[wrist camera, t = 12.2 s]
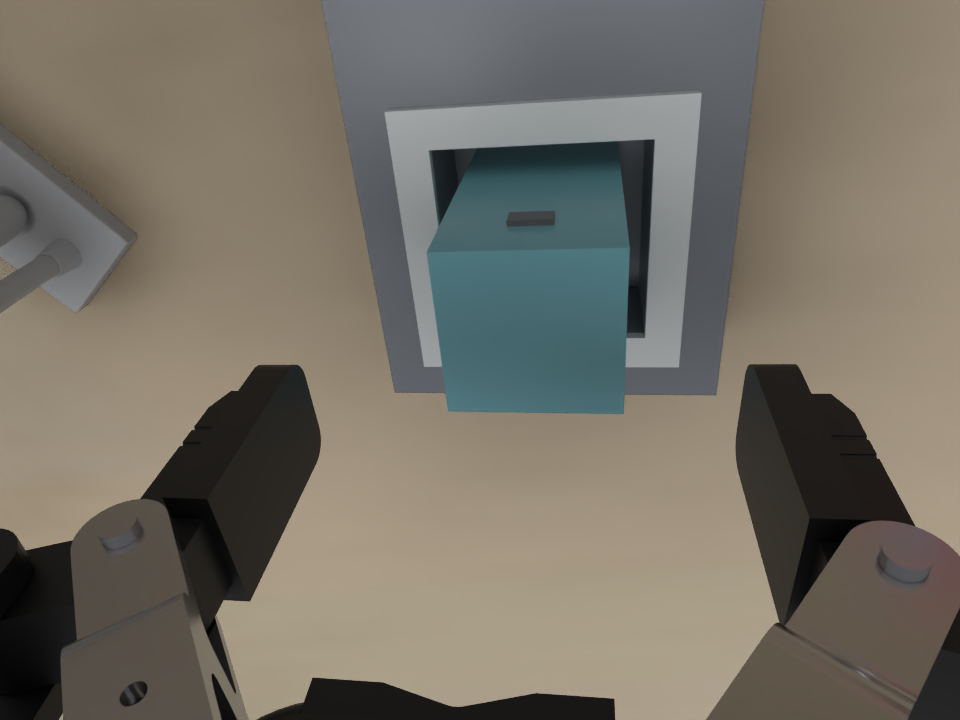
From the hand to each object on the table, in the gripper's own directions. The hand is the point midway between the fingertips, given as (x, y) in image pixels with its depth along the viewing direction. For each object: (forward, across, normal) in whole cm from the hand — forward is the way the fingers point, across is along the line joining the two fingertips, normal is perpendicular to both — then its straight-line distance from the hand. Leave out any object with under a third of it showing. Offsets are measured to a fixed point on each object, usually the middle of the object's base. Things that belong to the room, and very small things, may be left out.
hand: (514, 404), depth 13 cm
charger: (+10, 0, 0) cm, 10 cm away
